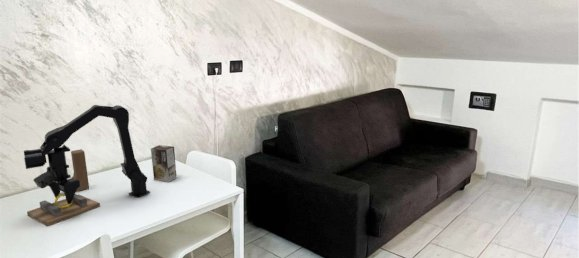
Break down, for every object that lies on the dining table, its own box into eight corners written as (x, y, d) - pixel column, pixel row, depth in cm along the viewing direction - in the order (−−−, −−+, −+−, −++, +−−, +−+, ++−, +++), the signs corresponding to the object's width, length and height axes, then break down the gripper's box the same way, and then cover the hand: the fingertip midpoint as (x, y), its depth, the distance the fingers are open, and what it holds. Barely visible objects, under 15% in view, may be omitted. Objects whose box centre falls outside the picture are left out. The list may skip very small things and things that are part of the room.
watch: (71, 204, 154) (70, 190, 153) (73, 206, 152) (72, 192, 151) (54, 208, 149) (53, 194, 148) (57, 210, 148) (56, 196, 147)
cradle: (100, 206, 155) (98, 196, 154) (47, 226, 139) (46, 215, 138) (79, 197, 163) (77, 187, 162) (27, 215, 147) (25, 204, 146)
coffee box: (177, 177, 186) (174, 146, 183) (169, 182, 180) (166, 150, 177) (161, 175, 189) (159, 144, 186) (153, 180, 183) (150, 148, 180)
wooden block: (67, 194, 167) (61, 155, 163) (64, 191, 170) (59, 152, 166) (89, 188, 173) (84, 151, 169) (86, 186, 176) (81, 148, 172)
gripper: (23, 164, 145) (29, 202, 149) (47, 174, 135) (53, 214, 139) (53, 157, 154) (59, 193, 158) (78, 165, 144) (84, 203, 148)
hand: (63, 200), depth 150 cm, fingers open, 9 cm apart
